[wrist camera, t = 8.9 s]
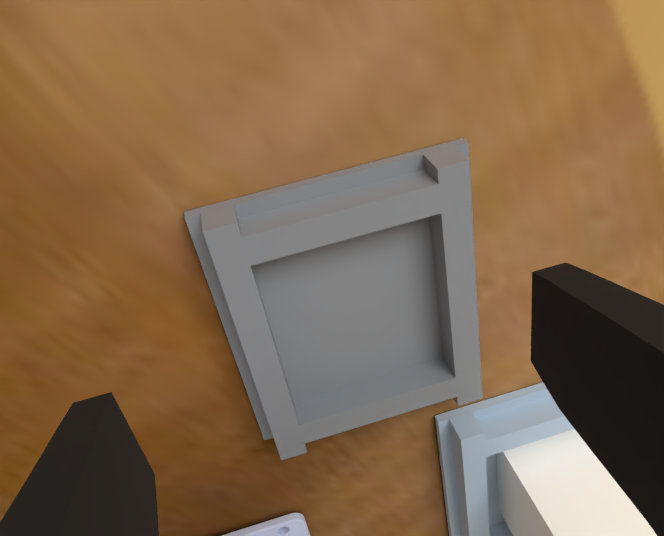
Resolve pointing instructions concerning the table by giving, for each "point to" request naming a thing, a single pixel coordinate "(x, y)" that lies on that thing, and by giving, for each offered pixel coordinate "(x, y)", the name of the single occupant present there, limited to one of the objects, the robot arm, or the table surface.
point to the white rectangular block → (563, 492)
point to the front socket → (348, 293)
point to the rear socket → (489, 453)
